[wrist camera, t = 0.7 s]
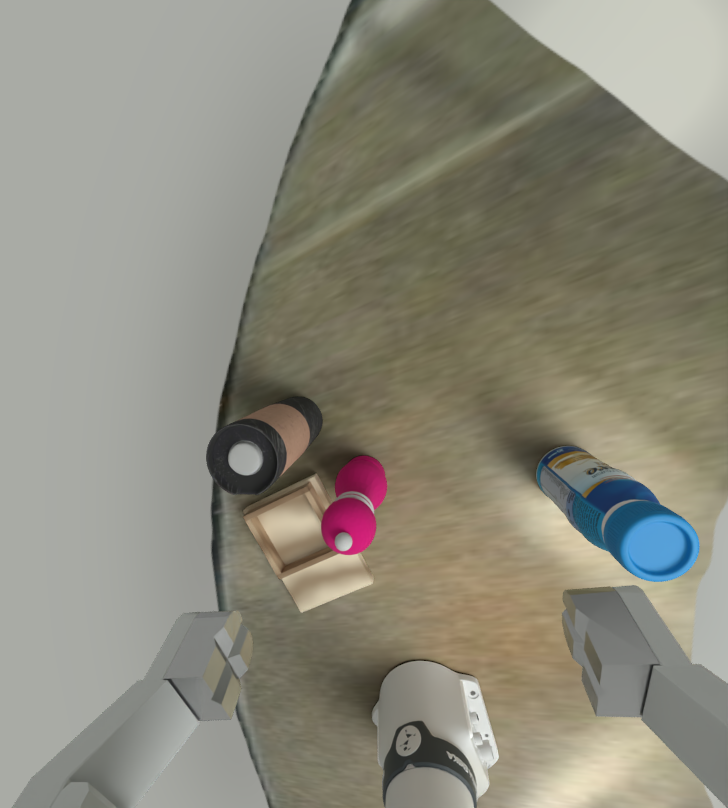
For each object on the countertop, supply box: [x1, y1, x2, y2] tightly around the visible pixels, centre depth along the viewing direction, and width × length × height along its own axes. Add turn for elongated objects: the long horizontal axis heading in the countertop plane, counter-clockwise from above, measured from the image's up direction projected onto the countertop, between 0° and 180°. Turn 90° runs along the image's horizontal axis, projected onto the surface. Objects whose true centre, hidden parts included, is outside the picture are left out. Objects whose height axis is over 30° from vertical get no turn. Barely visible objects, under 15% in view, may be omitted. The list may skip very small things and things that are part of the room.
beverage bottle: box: [536, 446, 699, 582], centre depth 42 cm, size 8×8×20 cm
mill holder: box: [243, 473, 374, 613], centre depth 57 cm, size 19×13×4 cm
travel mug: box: [206, 397, 322, 495], centre depth 46 cm, size 8×8×20 cm
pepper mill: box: [321, 456, 387, 555], centre depth 46 cm, size 7×7×20 cm
